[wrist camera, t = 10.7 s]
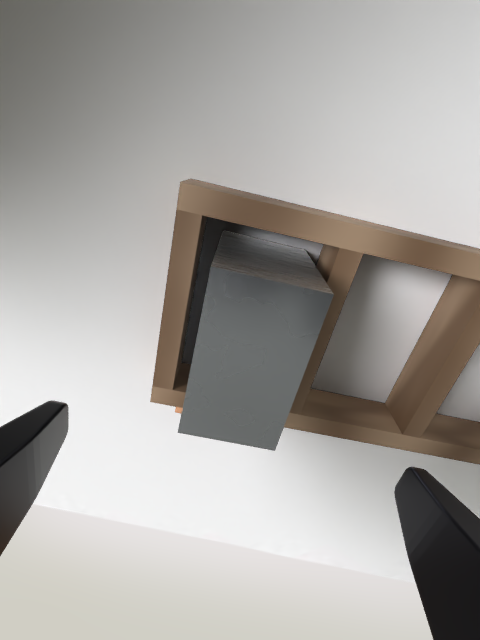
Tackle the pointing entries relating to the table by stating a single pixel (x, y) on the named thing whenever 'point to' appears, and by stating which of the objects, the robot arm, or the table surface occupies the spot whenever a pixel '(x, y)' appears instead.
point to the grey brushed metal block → (253, 340)
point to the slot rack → (338, 271)
